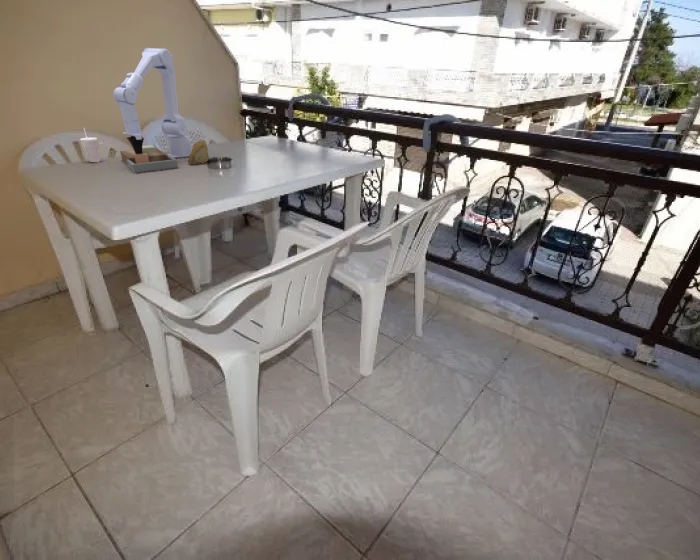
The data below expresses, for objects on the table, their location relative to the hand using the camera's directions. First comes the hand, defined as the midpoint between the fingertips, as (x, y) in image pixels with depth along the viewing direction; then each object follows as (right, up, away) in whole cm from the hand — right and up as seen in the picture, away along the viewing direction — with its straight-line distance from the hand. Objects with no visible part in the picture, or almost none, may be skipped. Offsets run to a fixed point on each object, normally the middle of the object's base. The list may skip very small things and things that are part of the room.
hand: (139, 154), depth 160 cm
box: (+6, -6, 0) cm, 8 cm away
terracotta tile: (+1, -2, 0) cm, 2 cm away
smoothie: (-23, -1, +6) cm, 24 cm away
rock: (+21, 0, +11) cm, 24 cm away
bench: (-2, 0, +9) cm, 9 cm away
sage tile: (-1, +5, +10) cm, 11 cm away
